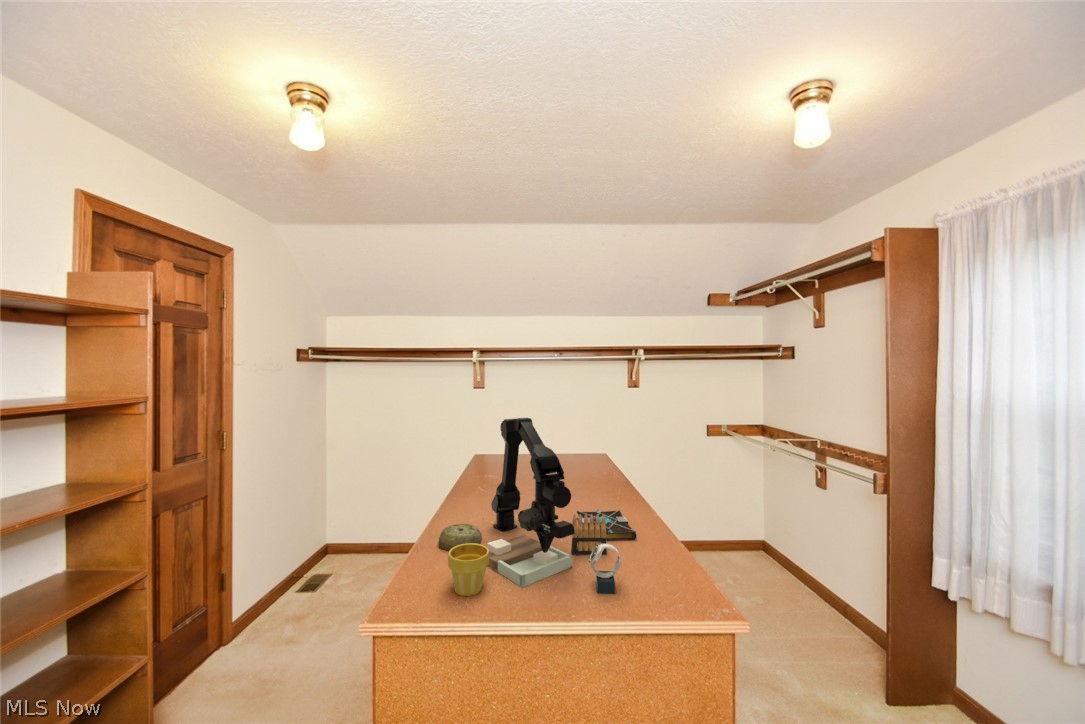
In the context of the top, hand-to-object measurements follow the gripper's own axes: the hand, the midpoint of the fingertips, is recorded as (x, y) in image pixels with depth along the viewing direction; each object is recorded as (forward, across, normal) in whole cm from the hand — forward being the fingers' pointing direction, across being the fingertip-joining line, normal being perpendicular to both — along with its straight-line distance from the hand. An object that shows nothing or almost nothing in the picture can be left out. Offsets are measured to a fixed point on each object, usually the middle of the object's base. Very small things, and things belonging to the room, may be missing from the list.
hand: (545, 552), depth 125 cm
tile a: (+3, 0, +1) cm, 3 cm away
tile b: (+1, -12, -8) cm, 14 cm away
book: (+4, -7, +34) cm, 35 cm away
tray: (+4, 0, -4) cm, 5 cm away
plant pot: (+4, -2, -24) cm, 24 cm away
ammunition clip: (+4, +3, +15) cm, 16 cm away
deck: (+4, -10, -4) cm, 12 cm away
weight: (+4, -29, -11) cm, 31 cm away
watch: (+4, +20, +3) cm, 21 cm away
